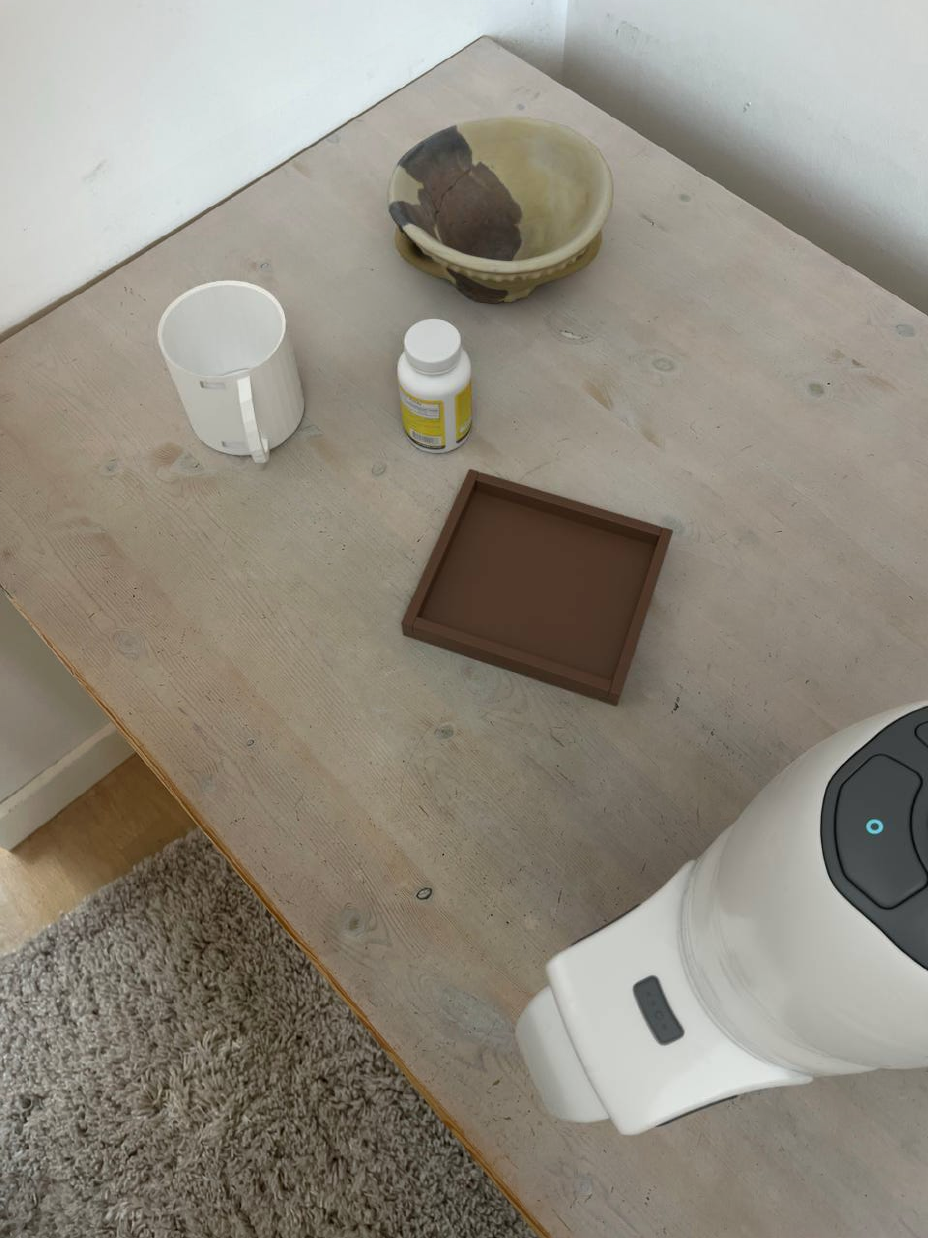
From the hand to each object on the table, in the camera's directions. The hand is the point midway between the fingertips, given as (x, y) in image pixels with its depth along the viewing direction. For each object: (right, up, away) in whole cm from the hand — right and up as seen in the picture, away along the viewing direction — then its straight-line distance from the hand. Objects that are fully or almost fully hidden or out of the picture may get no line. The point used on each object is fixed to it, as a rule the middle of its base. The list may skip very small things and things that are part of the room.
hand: (707, 986), depth 48 cm
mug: (-29, +33, +29) cm, 53 cm away
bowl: (-9, +48, +36) cm, 61 cm away
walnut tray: (-7, +20, +22) cm, 31 cm away
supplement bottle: (-14, +33, +29) cm, 46 cm away
